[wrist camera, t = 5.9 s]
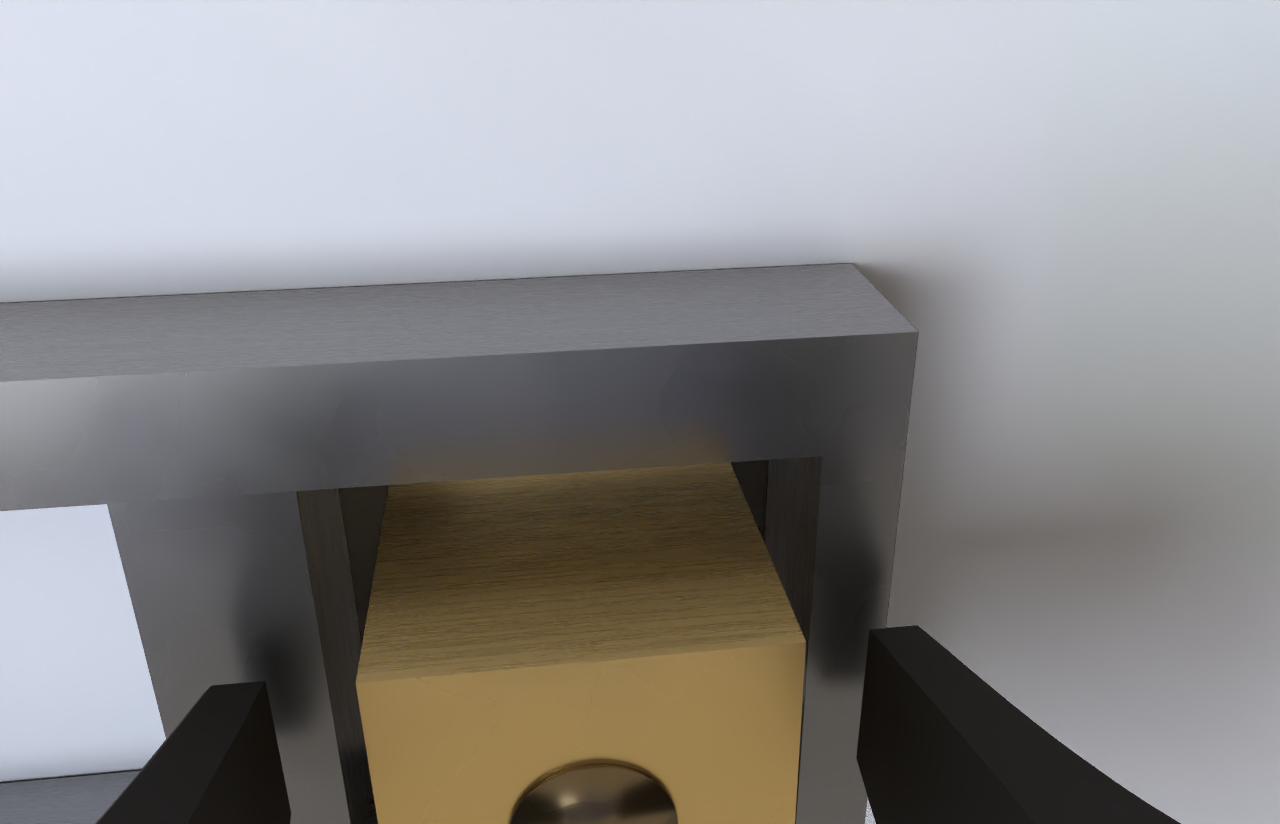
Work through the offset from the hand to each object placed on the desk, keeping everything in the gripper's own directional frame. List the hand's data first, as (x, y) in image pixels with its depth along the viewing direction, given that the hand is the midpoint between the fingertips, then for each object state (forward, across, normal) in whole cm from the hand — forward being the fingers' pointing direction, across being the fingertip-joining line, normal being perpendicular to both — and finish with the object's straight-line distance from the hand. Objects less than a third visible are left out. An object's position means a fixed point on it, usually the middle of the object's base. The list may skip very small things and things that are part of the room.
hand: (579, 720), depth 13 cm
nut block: (+3, 0, 0) cm, 3 cm away
